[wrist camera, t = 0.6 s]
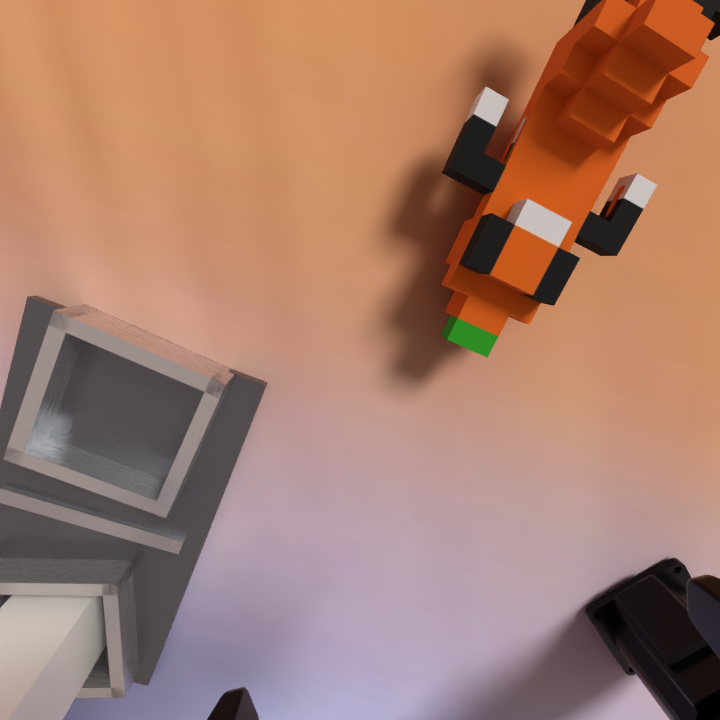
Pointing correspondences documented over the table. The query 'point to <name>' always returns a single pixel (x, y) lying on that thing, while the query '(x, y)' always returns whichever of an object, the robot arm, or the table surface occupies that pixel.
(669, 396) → the table surface
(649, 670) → the robot arm
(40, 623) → the plug
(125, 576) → the gray square frame
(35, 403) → the grey square holder
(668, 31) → the toy
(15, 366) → the panel
